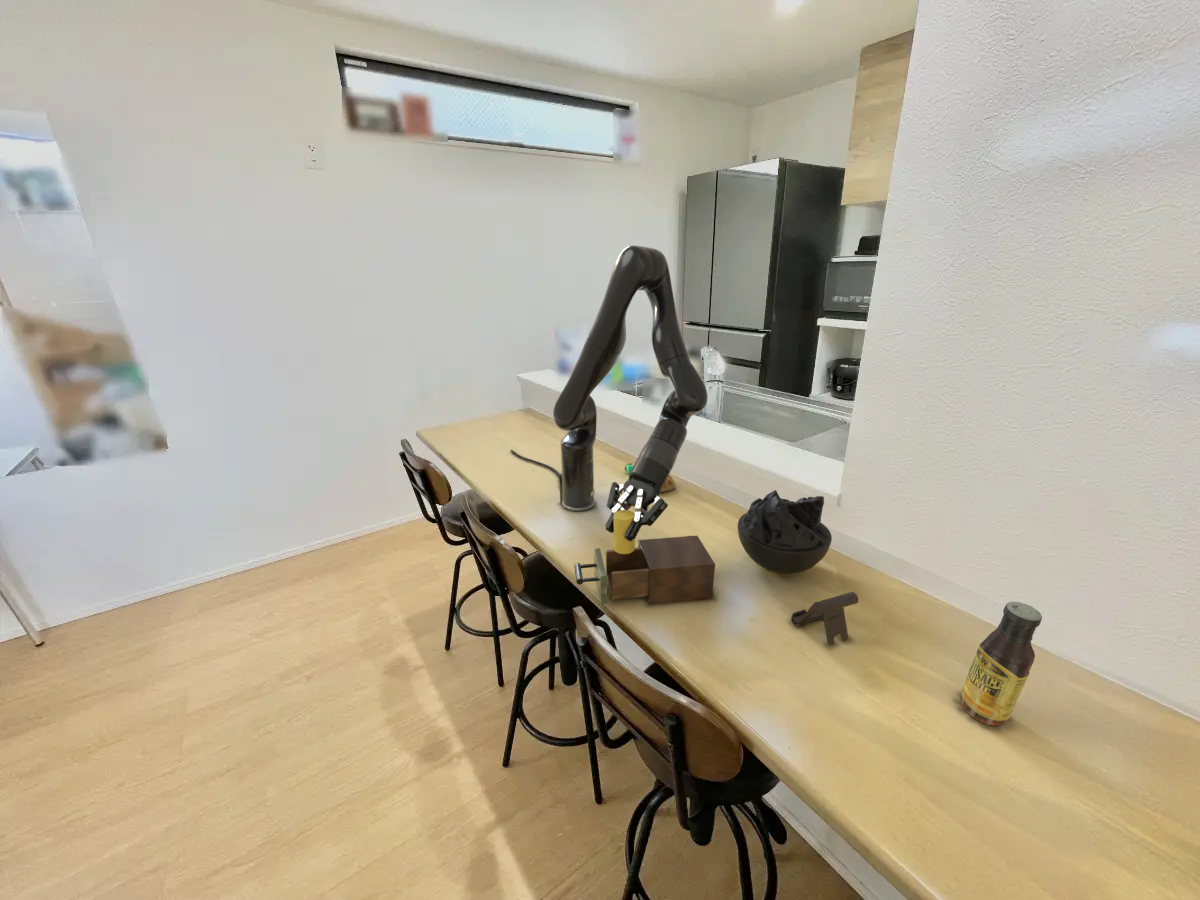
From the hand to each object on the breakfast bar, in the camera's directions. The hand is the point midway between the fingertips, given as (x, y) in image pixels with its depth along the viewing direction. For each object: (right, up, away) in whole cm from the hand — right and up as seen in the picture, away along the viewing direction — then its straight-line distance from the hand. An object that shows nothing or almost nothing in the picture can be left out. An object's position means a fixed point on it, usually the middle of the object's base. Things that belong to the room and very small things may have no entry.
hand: (618, 535), depth 101 cm
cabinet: (+12, -12, +7) cm, 19 cm away
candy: (+9, +8, +62) cm, 63 cm away
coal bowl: (+38, -10, +14) cm, 41 cm away
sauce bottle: (+56, -24, -24) cm, 65 cm away
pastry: (+15, +5, +55) cm, 57 cm away
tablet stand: (+39, -17, -6) cm, 43 cm away
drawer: (0, -12, +5) cm, 13 cm away
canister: (+1, -3, +3) cm, 5 cm away
